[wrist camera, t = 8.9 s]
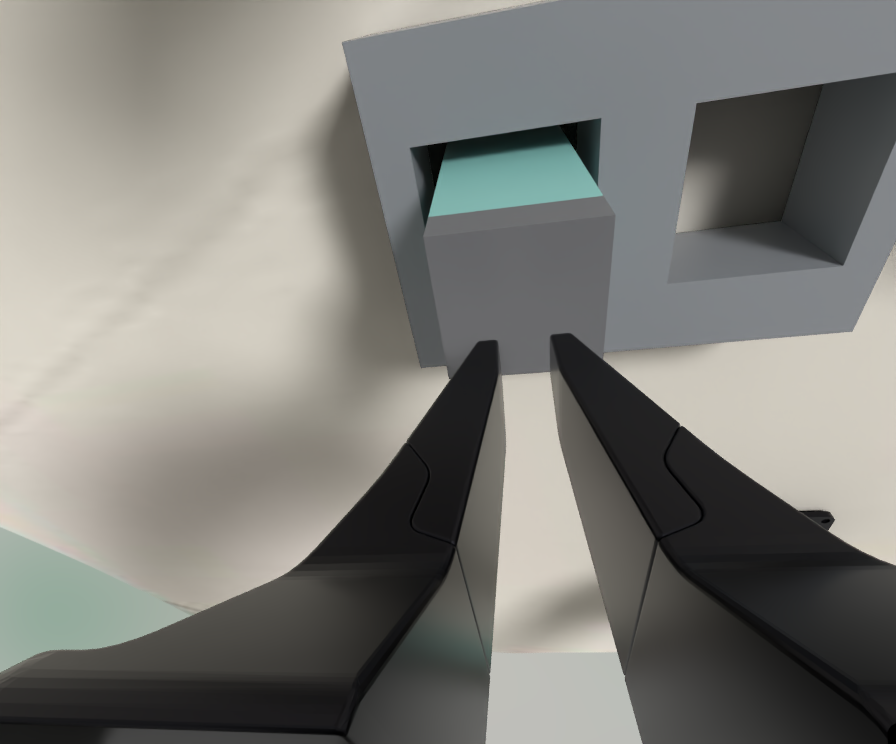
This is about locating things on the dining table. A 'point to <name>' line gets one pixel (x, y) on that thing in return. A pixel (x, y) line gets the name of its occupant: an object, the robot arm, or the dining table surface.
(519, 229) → the plug
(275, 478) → the dining table surface
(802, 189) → the socket plate
